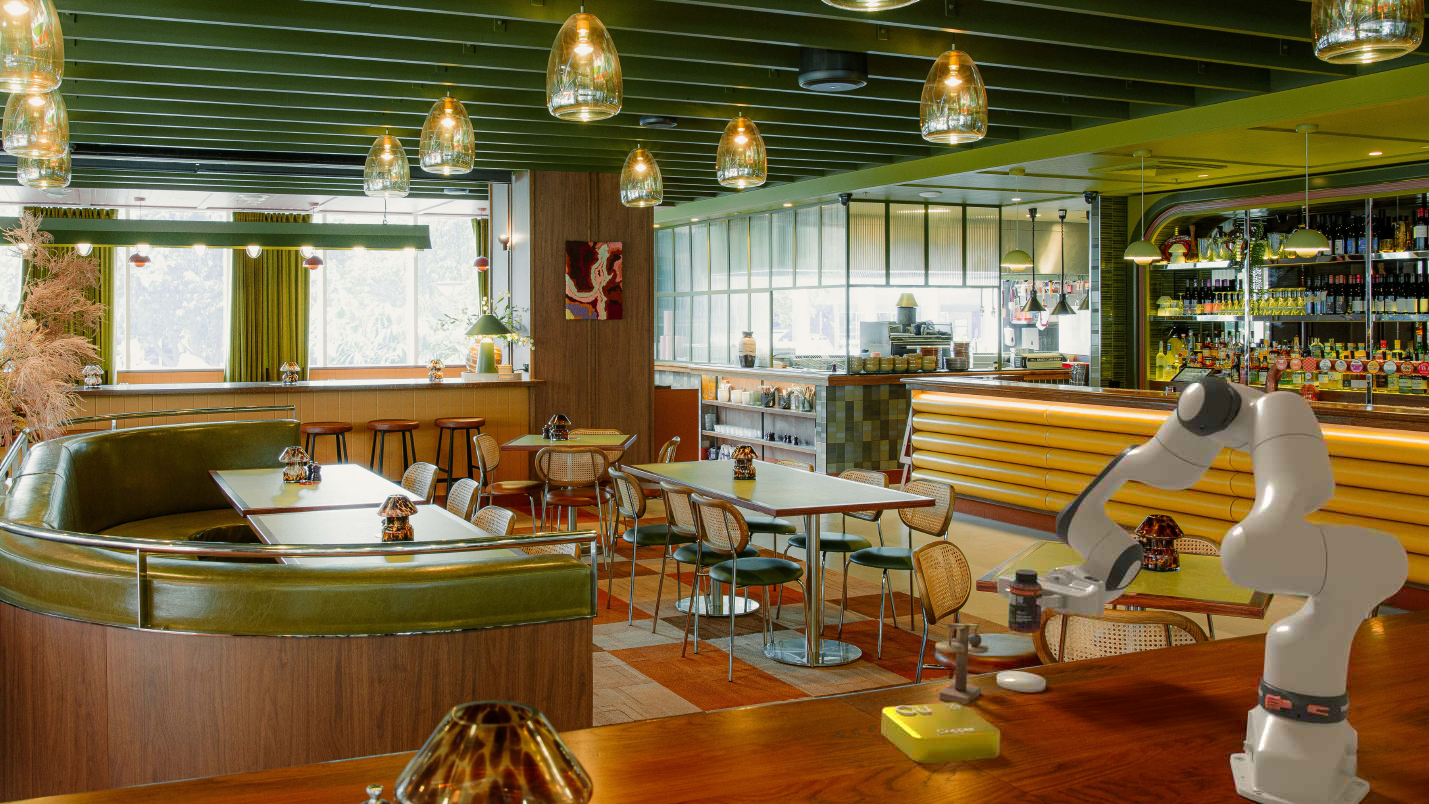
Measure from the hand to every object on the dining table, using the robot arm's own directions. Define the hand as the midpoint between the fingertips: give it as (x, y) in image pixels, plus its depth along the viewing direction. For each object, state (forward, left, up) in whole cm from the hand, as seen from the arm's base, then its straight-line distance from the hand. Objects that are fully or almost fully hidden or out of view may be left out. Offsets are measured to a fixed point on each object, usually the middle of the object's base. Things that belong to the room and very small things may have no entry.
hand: (1022, 598), depth 206 cm
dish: (+1, 0, -17) cm, 17 cm away
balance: (-13, +7, -17) cm, 22 cm away
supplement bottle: (+1, 0, -6) cm, 7 cm away
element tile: (-38, +2, -17) cm, 42 cm away
